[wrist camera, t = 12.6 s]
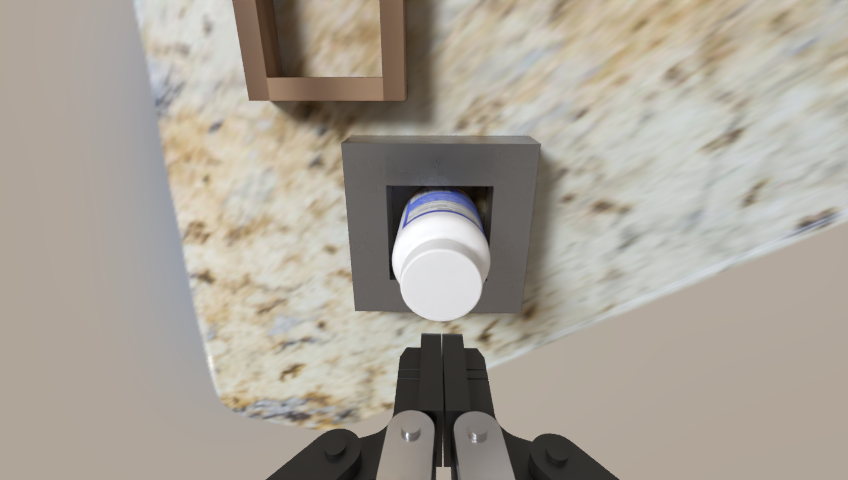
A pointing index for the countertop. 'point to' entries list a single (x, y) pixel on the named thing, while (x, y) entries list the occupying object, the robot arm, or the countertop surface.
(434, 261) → the pill bottle
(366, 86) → the walnut stand
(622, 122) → the countertop surface
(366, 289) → the steel block
